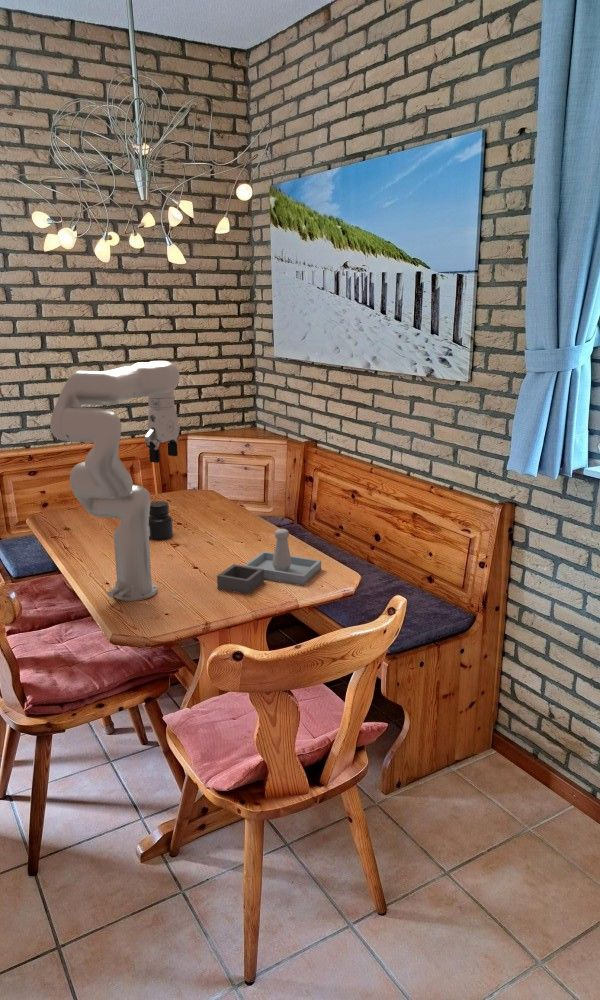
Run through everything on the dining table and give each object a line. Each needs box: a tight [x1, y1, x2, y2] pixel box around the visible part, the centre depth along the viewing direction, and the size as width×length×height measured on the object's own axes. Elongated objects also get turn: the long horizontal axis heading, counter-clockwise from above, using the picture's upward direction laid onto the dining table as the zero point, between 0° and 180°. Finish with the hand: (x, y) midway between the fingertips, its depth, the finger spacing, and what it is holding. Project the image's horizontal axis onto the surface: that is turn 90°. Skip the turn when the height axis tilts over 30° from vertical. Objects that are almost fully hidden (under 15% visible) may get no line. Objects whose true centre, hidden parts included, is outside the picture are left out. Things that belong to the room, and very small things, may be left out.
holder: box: [216, 563, 265, 595], centre depth 207 cm, size 10×10×4 cm
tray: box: [242, 550, 322, 587], centre depth 217 cm, size 14×20×3 cm
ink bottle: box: [149, 500, 174, 541], centre depth 247 cm, size 10×9×12 cm
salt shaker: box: [272, 528, 291, 572], centre depth 215 cm, size 6×6×13 cm
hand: (164, 458), depth 216 cm, fingers open, 9 cm apart
